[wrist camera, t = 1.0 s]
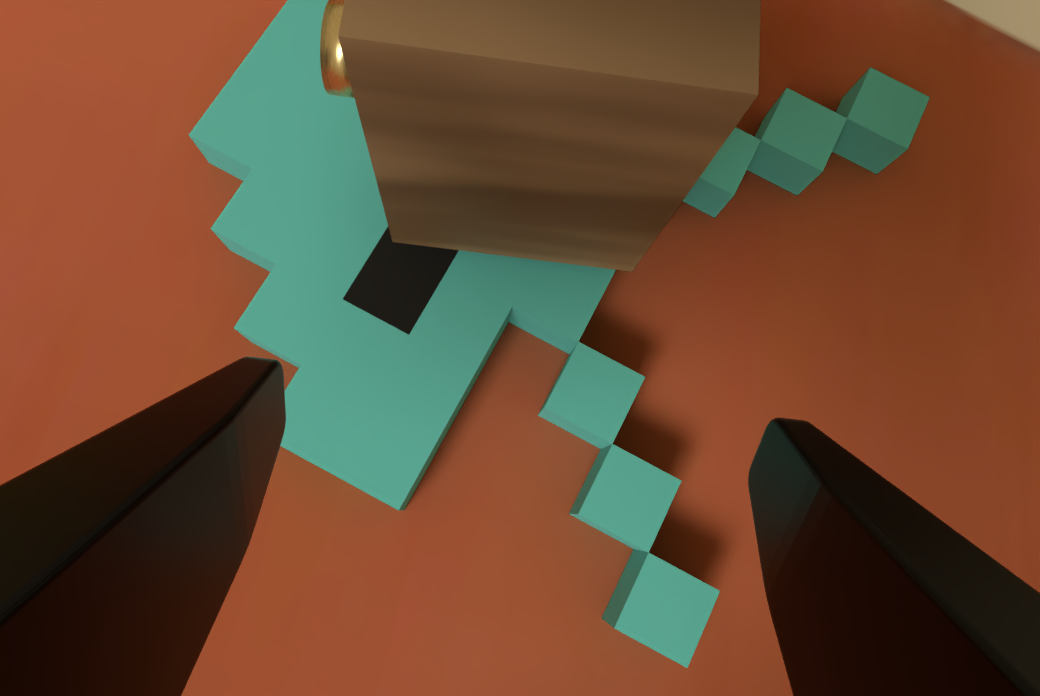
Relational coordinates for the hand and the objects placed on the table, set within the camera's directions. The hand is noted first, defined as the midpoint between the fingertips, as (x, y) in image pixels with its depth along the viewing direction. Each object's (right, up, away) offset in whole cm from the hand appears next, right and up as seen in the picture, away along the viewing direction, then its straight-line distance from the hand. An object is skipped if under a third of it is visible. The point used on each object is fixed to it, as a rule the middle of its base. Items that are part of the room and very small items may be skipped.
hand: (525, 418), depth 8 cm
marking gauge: (0, +7, +13) cm, 15 cm away
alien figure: (0, +5, +15) cm, 16 cm away
